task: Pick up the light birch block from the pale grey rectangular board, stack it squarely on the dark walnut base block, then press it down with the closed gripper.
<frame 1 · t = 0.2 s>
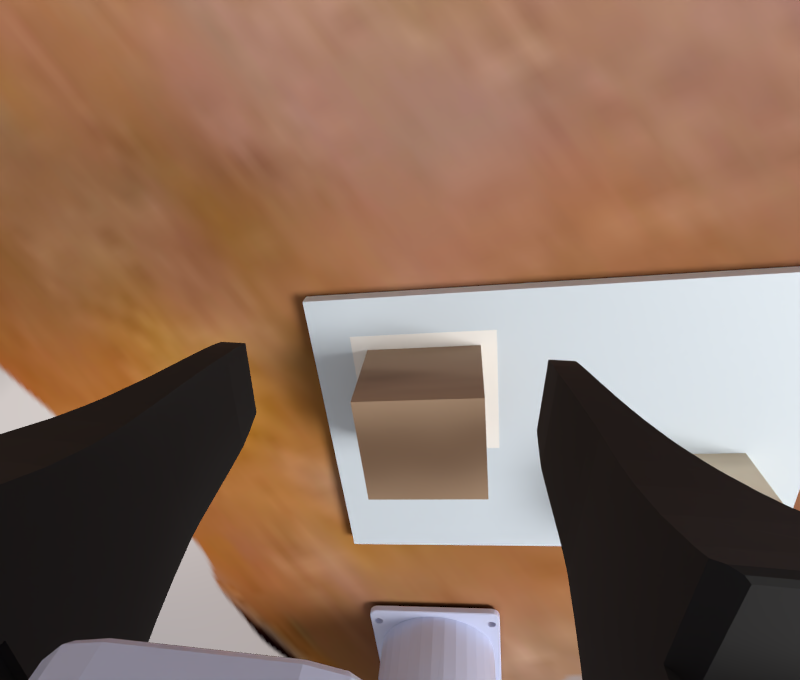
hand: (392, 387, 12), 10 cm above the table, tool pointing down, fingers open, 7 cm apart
walnut base block: (427, 394, 23), point 1 cm above the table, touching pale grey rectangular board
pale grey rectangular board: (557, 427, 24), on the table
birch block: (685, 490, 24), point 1 cm above the table, touching pale grey rectangular board
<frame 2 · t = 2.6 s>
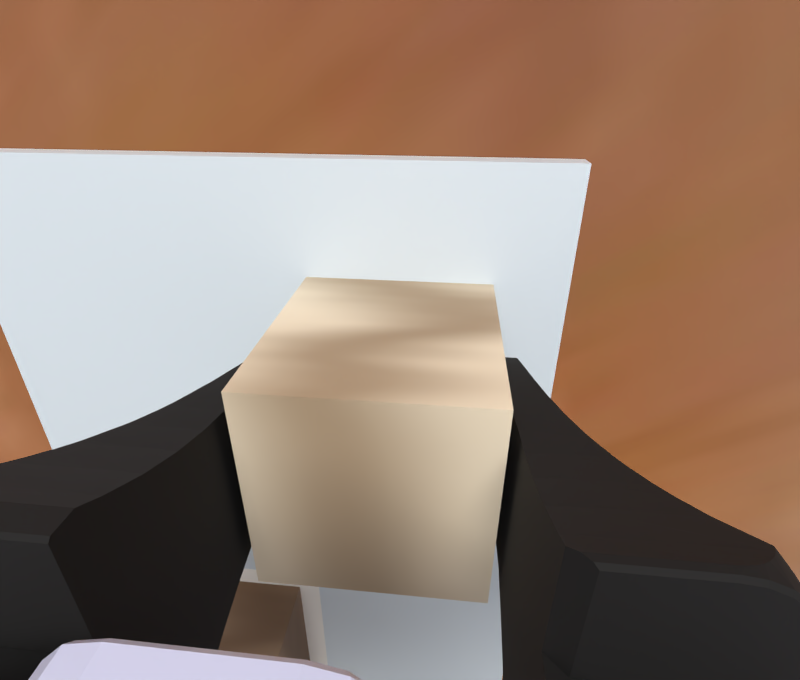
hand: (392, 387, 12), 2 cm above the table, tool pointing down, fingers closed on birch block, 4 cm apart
walnut base block: (241, 623, 19), point 1 cm above the table, touching pale grey rectangular board
pale grey rectangular board: (295, 502, 17), on the table
birch block: (398, 361, 13), point 1 cm above the table, touching pale grey rectangular board, gripper
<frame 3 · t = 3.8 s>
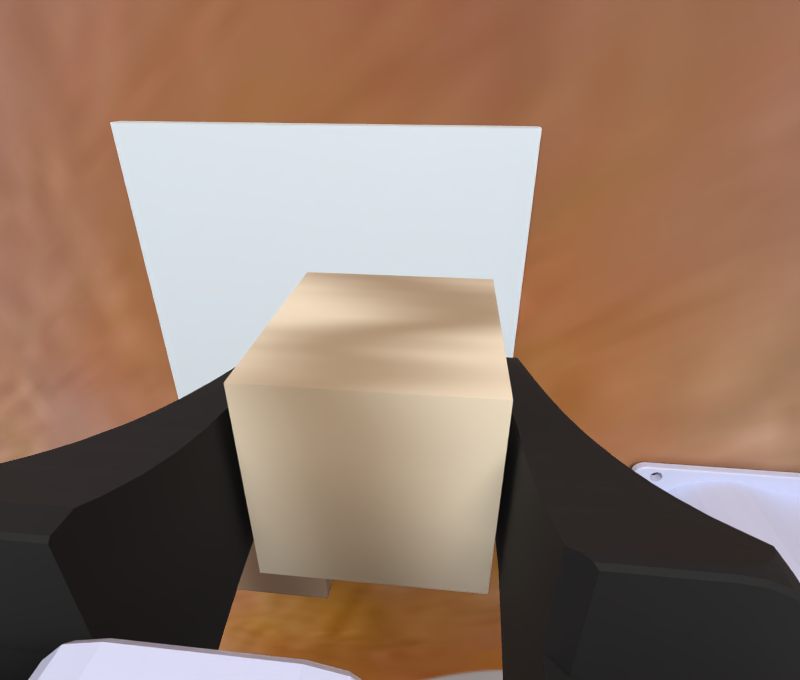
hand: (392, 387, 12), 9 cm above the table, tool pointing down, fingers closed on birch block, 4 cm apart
walnut base block: (294, 489, 25), point 1 cm above the table, touching pale grey rectangular board
pale grey rectangular board: (338, 385, 23), on the table
birch block: (398, 356, 13), point 7 cm above the table, touching gripper
when the fingers open (7 cm above the table, at t = 5.9 s): birch block stays where it is, resting on walnut base block.
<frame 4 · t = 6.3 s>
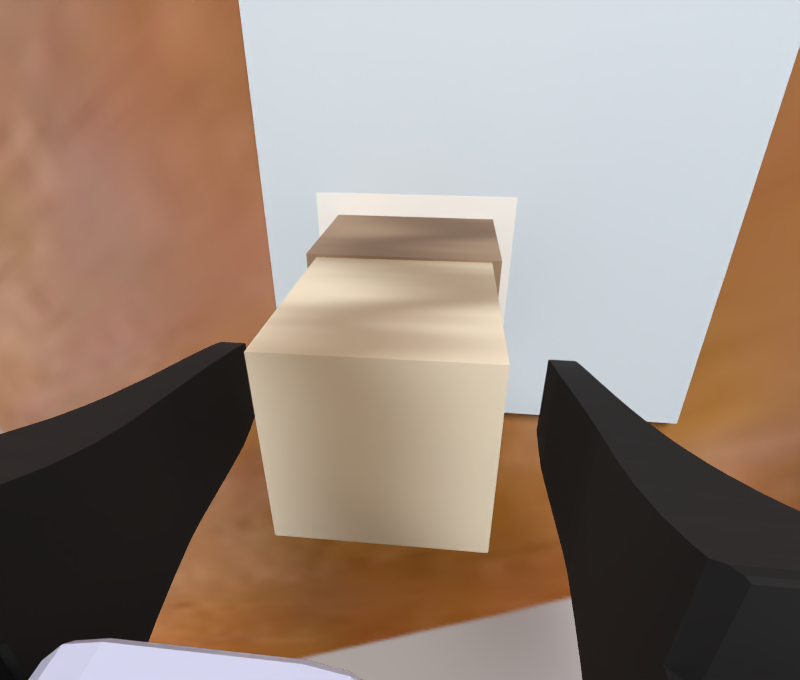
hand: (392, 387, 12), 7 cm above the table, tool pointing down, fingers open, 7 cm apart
walnut base block: (413, 288, 18), point 1 cm above the table, touching birch block, pale grey rectangular board
pale grey rectangular board: (502, 96, 15), on the table
birch block: (402, 338, 14), point 5 cm above the table, touching walnut base block
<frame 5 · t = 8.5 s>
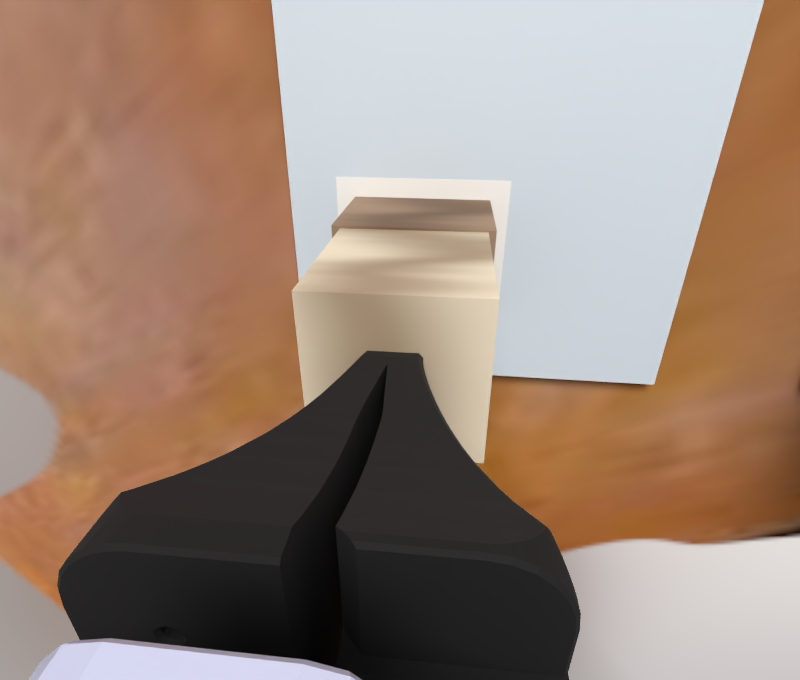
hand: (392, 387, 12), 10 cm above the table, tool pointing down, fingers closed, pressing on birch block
walnut base block: (420, 262, 20), point 1 cm above the table, touching birch block, pale grey rectangular board
pale grey rectangular board: (498, 93, 17), on the table
birch block: (412, 298, 16), point 5 cm above the table, touching gripper, walnut base block
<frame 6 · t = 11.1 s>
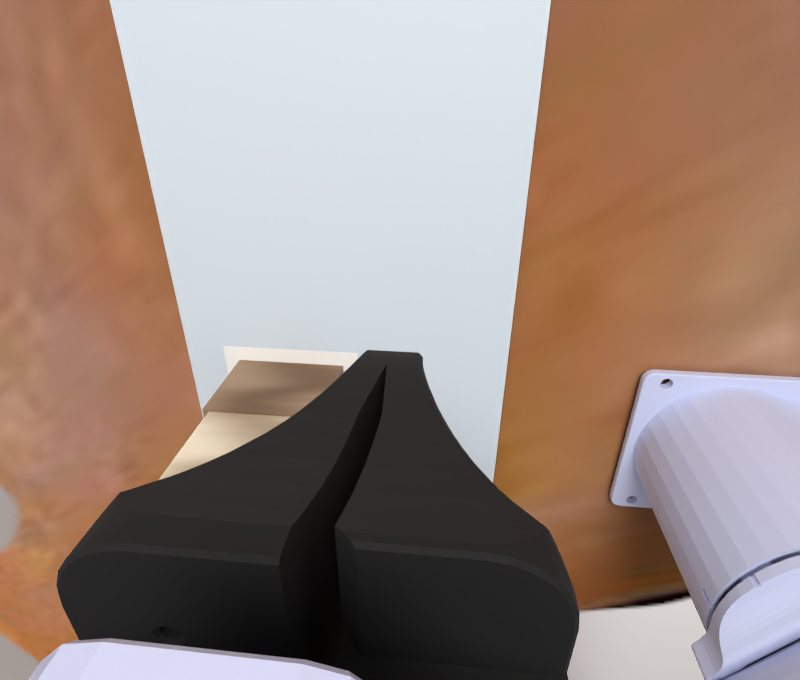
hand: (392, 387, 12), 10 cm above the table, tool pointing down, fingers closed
walnut base block: (295, 406, 25), point 1 cm above the table, touching birch block, pale grey rectangular board
pale grey rectangular board: (342, 291, 22), on the table
birch block: (269, 458, 21), point 5 cm above the table, touching walnut base block
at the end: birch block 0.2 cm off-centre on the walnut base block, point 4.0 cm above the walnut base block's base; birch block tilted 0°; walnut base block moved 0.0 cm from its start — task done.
